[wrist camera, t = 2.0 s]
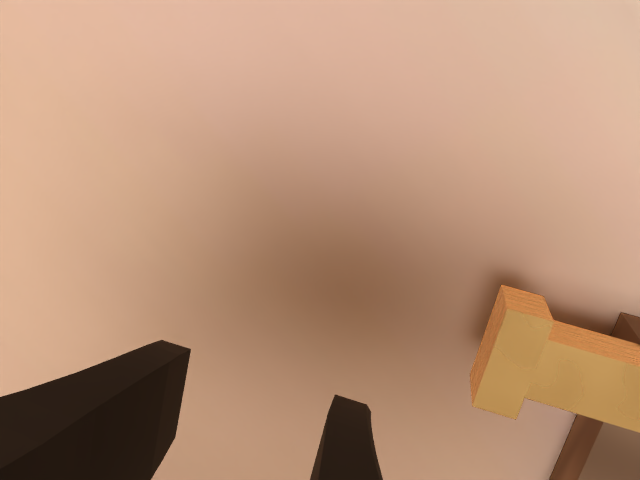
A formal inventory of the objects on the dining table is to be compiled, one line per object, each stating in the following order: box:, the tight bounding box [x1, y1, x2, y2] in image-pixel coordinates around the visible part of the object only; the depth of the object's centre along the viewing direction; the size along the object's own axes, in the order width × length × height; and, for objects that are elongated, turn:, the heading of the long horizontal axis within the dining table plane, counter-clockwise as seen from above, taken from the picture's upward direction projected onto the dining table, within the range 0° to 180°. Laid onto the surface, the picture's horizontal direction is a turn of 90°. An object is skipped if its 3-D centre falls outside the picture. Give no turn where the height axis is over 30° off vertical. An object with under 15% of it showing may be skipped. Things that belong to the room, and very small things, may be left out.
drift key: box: [470, 285, 640, 433], centre depth 17 cm, size 3×5×2 cm, turn 77°
